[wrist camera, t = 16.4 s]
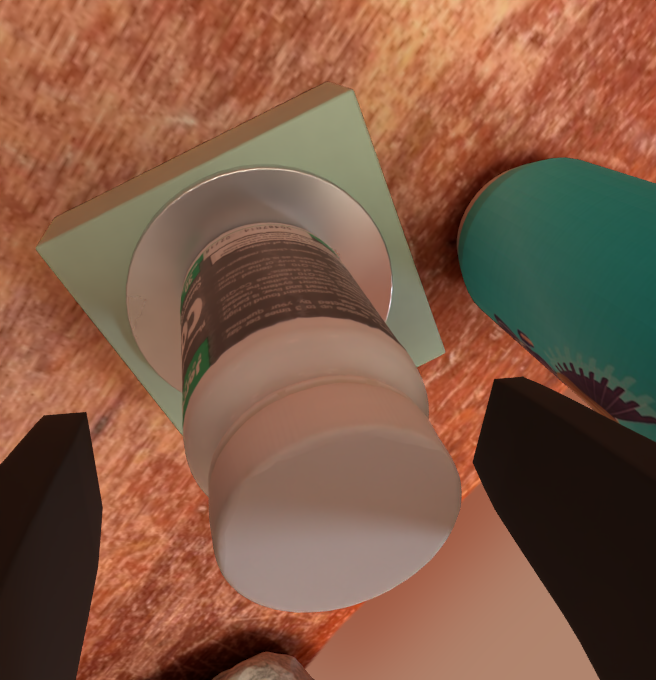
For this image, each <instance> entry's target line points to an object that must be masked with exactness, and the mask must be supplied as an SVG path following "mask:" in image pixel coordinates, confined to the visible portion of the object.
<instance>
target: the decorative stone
mask: <svg viewBox="0 0 656 680" xmlns="http://www.w3.org/2000/svg"><path fill="white" fill-rule="evenodd" d="M212 680H314V679H313V678H312V677H311V676H310V675H309V674H308V673H307V671H306V670H305V669H304V667H303V666H302V664H301V663H299V662H298V661H297V659H295V658H294V657H293V656H290V655H286V654H276V653H272V652H262V653H260V654H258V655H255V656H253V657H251V658H249V659H247V660H245V661H242V662H241V663H239V664H237V665H235V666H234V667H233V668H232V669H229V670H226V671H223V672H221V673H220V674H218V675H217V676H216V677H214V678H213V679H212Z"/></svg>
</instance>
